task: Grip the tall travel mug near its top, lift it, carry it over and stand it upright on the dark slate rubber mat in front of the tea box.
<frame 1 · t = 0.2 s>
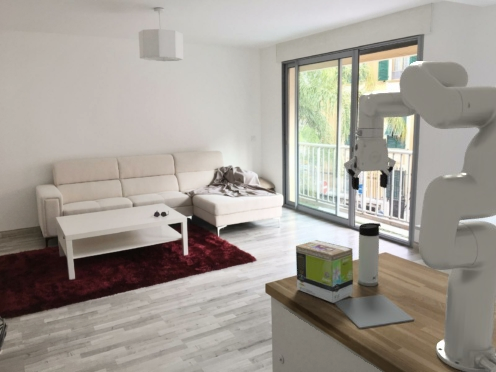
hand: (369, 188, 131), 31 cm above the kitchen counter, tool pointing down, fingers open, 9 cm apart
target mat: (371, 310, 117), on the kitchen counter
tea box: (324, 292, 130), on the kitchen counter, touching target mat
travel mug: (368, 283, 136), on the kitchen counter
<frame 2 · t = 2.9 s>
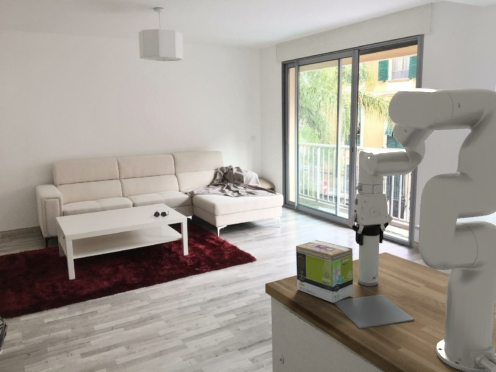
hand: (369, 242, 134), 14 cm above the kitchen counter, tool pointing down, fingers closed on travel mug, 6 cm apart
travel mug: (368, 283, 136), on the kitchen counter, touching gripper
everything else where it was.
when the fingers open (15 cm above the kitchen counter, at t = 10.0 s): travel mug drops 1 cm, resting on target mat.
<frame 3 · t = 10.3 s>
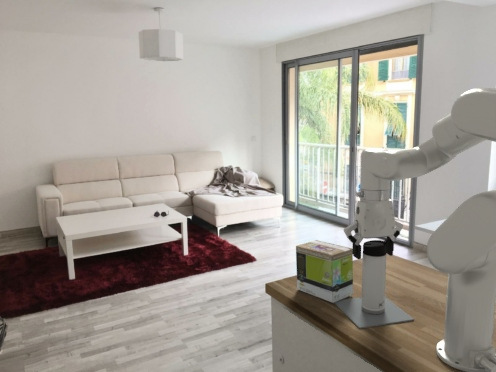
hand: (373, 255, 114), 16 cm above the kitchen counter, tool pointing down, fingers open, 9 cm apart
travel mug: (373, 310, 117), resting on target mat
everything else where it was.
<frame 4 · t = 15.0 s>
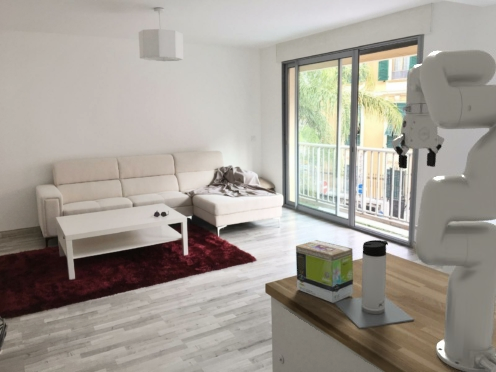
hand: (416, 167, 127), 38 cm above the kitchen counter, tool pointing down, fingers open, 9 cm apart
nothing on the kitchen counter moved.
at the end: travel mug inside the target area on the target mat (0.5 cm from its centre), point 0.2 cm above the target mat's base; travel mug tilted 0°; the gripper is holding nothing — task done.
